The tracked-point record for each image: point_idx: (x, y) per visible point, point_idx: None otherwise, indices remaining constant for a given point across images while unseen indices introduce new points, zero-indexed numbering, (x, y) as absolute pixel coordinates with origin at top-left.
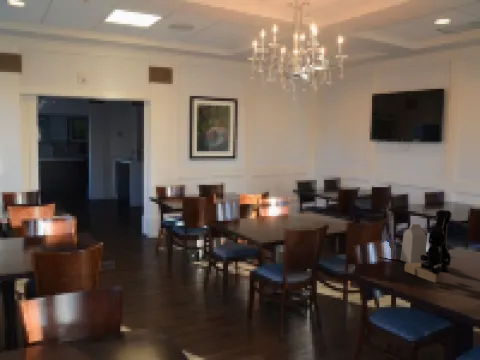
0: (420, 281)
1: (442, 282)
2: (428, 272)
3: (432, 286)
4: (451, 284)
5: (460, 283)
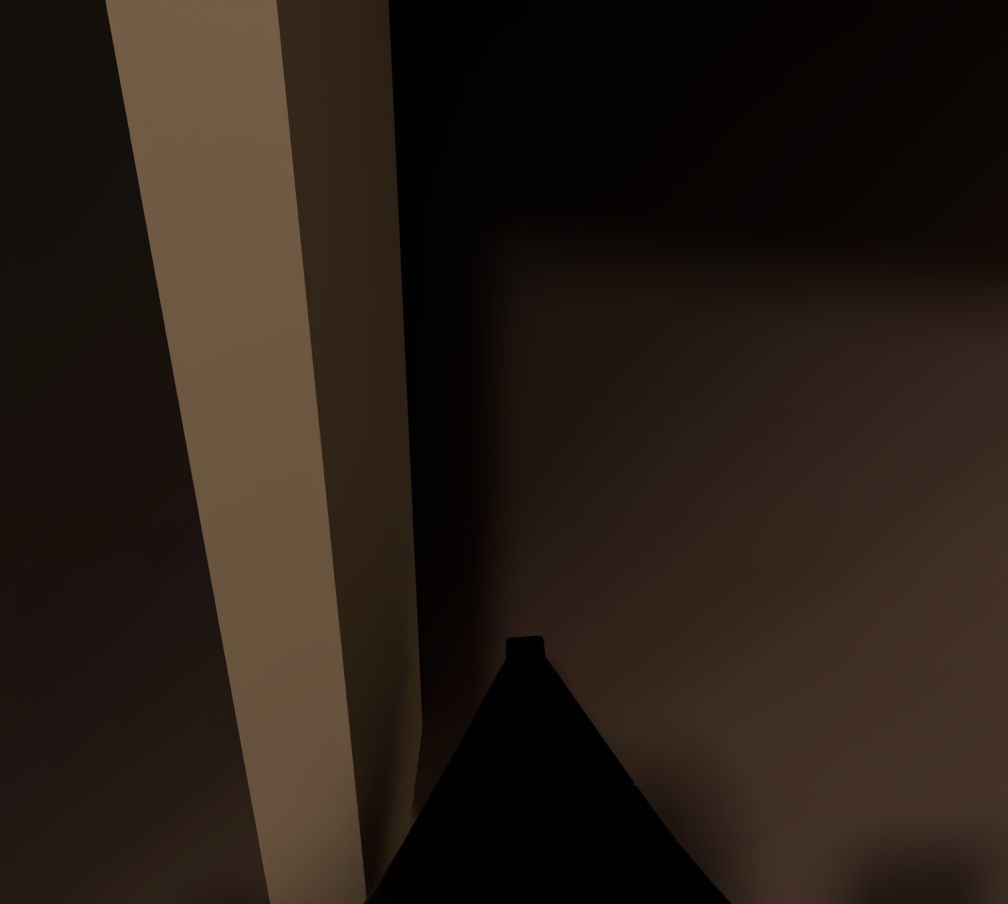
0: (6, 504)
1: (627, 736)
2: (248, 675)
3: (97, 888)
4: None
5: (969, 877)
